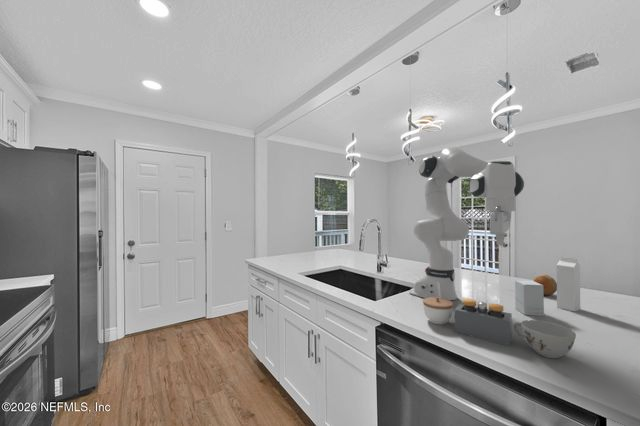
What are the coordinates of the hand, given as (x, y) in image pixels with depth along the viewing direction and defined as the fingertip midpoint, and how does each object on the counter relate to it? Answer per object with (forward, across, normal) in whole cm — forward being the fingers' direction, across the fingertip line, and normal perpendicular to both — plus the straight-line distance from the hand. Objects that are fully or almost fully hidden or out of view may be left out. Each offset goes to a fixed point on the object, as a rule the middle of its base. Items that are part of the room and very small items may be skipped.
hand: (500, 244), depth 96 cm
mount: (+31, -8, +4) cm, 32 cm away
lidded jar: (+31, -6, +20) cm, 37 cm away
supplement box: (+32, +27, -7) cm, 42 cm away
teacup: (+31, -10, -12) cm, 34 cm away
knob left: (+29, -8, +8) cm, 31 cm away
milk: (+32, +43, -20) cm, 57 cm away
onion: (+33, +61, -12) cm, 70 cm away
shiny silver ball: (+23, -8, +4) cm, 24 cm away
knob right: (+29, -8, 0) cm, 30 cm away
